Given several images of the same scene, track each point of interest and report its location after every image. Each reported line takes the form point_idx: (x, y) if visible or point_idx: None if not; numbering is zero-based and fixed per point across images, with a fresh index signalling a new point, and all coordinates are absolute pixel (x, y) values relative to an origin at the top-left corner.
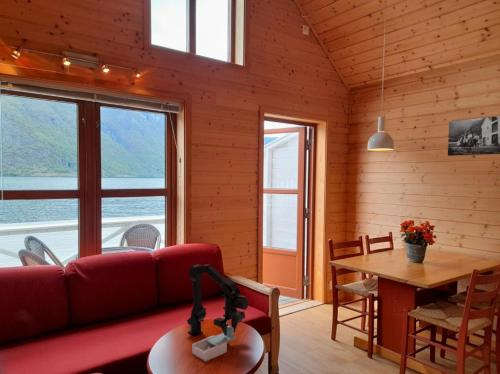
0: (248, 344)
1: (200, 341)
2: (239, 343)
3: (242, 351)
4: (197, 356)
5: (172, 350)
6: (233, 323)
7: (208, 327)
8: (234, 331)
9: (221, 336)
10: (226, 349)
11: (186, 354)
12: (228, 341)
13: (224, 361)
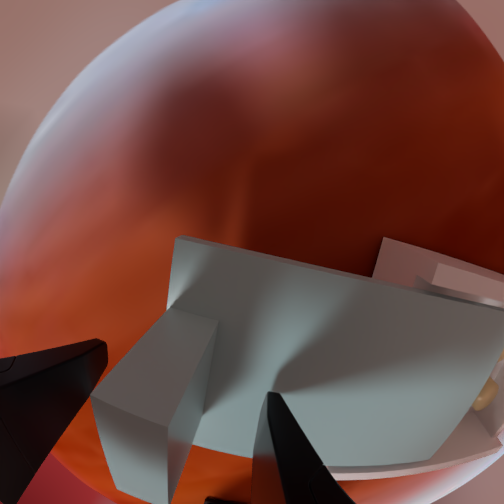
0: (111, 144)
1: (462, 457)
2: (140, 231)
3: (269, 99)
4: (500, 369)
5: (443, 475)
6: (21, 435)
7: None
8: (92, 342)
9: None
10: (397, 243)
11: None
12: (364, 276)
13: (495, 166)
